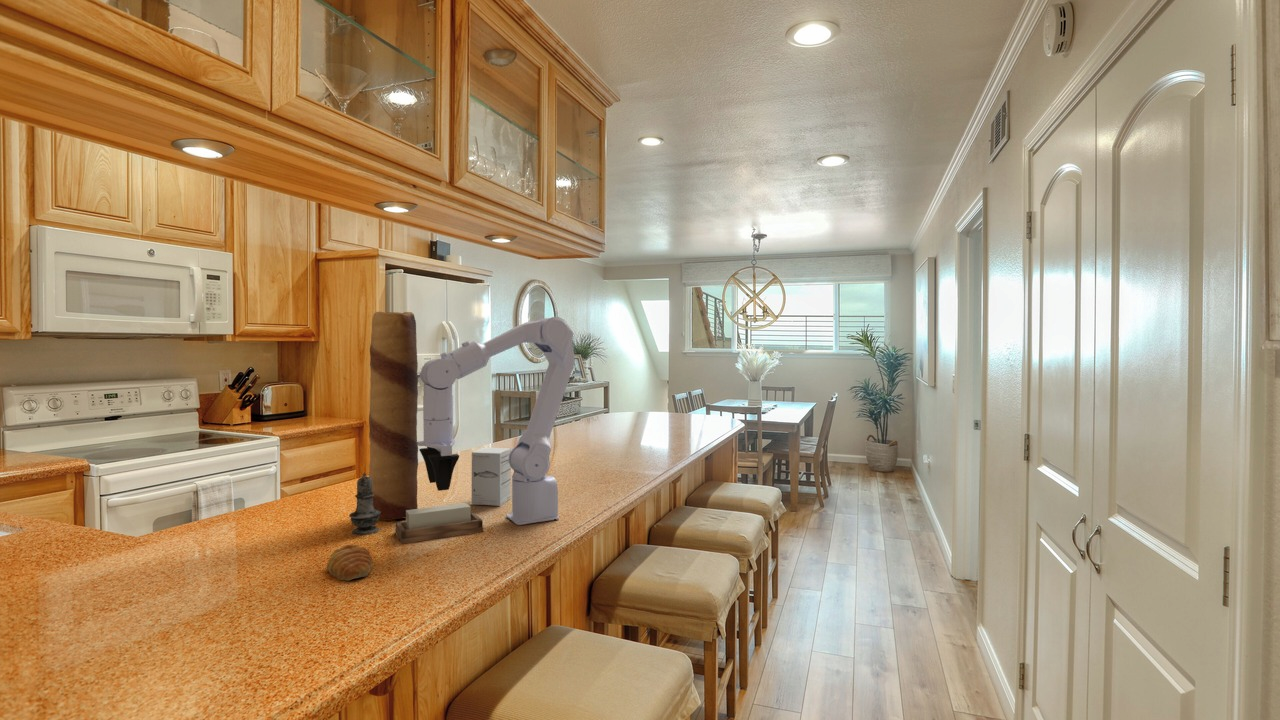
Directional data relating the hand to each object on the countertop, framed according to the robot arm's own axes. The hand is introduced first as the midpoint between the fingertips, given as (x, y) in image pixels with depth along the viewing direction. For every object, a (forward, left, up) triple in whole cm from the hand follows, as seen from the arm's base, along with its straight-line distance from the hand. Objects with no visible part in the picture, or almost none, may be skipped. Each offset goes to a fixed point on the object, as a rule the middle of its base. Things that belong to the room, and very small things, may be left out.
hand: (439, 485), depth 127 cm
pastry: (+17, +15, -10) cm, 25 cm away
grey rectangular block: (0, 0, -9) cm, 9 cm away
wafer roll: (+6, -17, -10) cm, 20 cm away
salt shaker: (+13, -8, -10) cm, 18 cm away
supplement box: (-16, -18, -10) cm, 26 cm away
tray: (0, 0, -9) cm, 9 cm away
